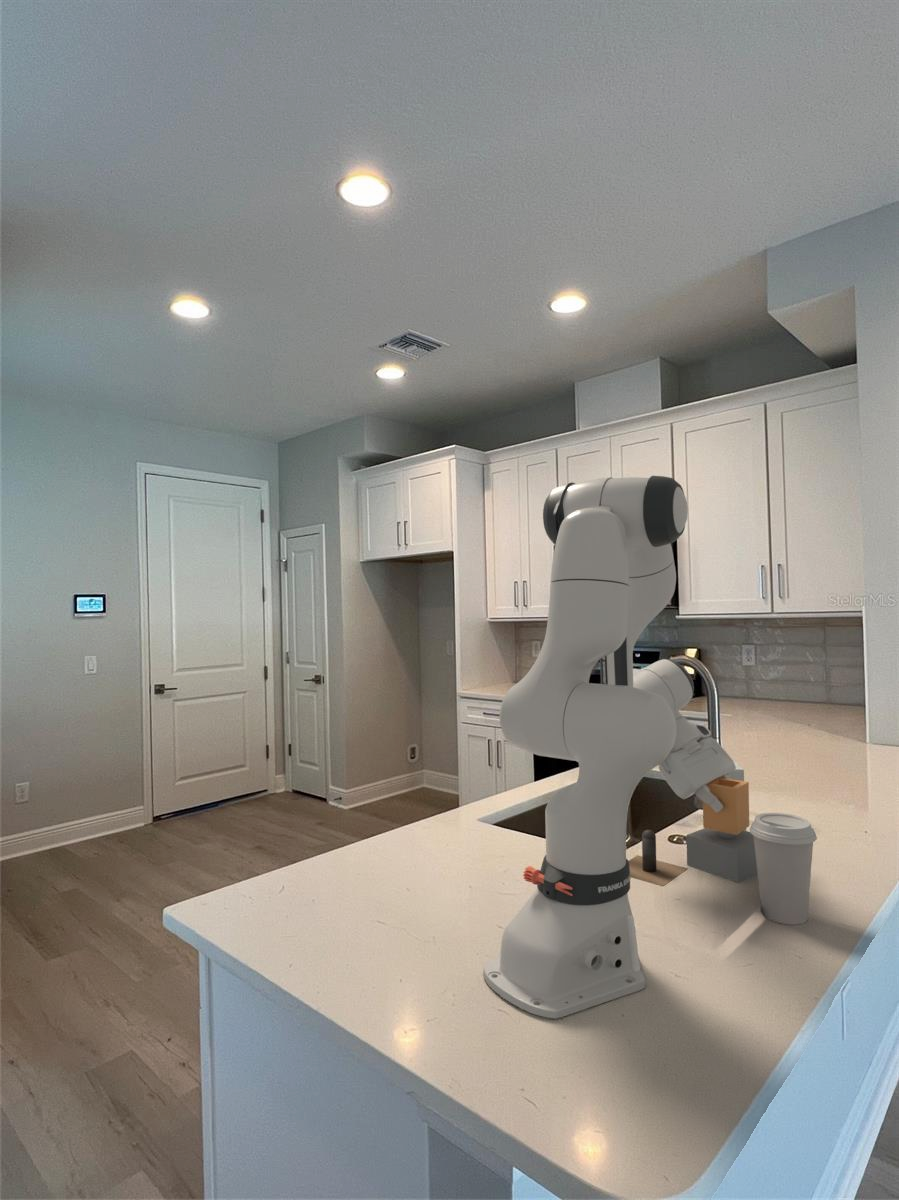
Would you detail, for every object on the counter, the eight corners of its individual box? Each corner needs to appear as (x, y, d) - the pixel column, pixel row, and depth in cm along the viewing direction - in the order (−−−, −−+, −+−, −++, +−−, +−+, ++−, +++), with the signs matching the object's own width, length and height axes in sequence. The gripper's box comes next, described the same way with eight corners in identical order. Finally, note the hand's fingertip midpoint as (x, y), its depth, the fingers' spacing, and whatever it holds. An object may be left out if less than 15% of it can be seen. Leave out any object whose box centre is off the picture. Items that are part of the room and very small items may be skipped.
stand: (663, 894, 118) (662, 843, 118) (610, 879, 125) (609, 831, 125) (688, 876, 126) (687, 828, 126) (637, 863, 132) (636, 817, 132)
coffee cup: (737, 908, 113) (736, 815, 113) (783, 898, 116) (781, 808, 116) (785, 934, 104) (783, 834, 104) (832, 922, 107) (831, 825, 107)
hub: (738, 890, 119) (736, 814, 119) (687, 873, 127) (685, 801, 127) (768, 875, 125) (767, 802, 125) (718, 859, 133) (716, 790, 133)
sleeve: (736, 834, 122) (736, 789, 122) (703, 827, 126) (702, 783, 126) (749, 825, 126) (748, 782, 126) (716, 819, 130) (715, 776, 130)
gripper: (662, 742, 123) (718, 808, 117) (709, 725, 138) (761, 782, 132) (640, 764, 126) (693, 829, 120) (688, 744, 141) (738, 801, 135)
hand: (729, 804), depth 126 cm, fingers closed on sleeve, 6 cm apart
